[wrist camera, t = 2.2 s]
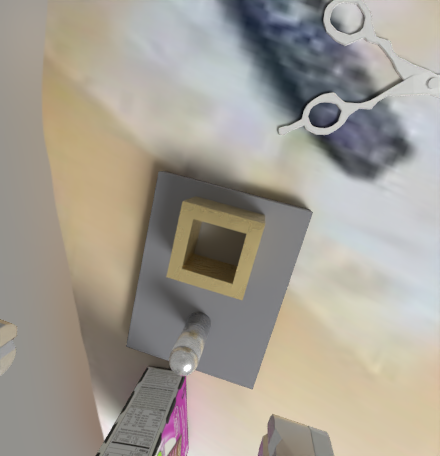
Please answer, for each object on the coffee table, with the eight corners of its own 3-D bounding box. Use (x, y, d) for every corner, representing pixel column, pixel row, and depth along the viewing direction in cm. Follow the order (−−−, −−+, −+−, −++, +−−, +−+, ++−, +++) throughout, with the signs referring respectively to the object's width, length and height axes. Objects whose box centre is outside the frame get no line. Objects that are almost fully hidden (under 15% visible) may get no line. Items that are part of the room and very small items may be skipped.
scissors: (309, -10, 20) (608, 21, 18) (308, -3, 21) (594, 27, 19) (277, 134, 23) (535, 178, 20) (277, 135, 24) (526, 178, 21)
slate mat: (164, 171, 25) (158, 171, 24) (309, 209, 24) (312, 212, 23) (132, 338, 30) (126, 346, 28) (253, 378, 29) (252, 389, 27)
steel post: (190, 308, 26) (167, 352, 20) (213, 316, 26) (197, 362, 20) (185, 329, 27) (161, 377, 21) (208, 336, 27) (191, 387, 20)
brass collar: (195, 196, 24) (182, 201, 20) (264, 215, 23) (265, 224, 19) (181, 260, 25) (166, 277, 22) (245, 280, 25) (242, 300, 21)
